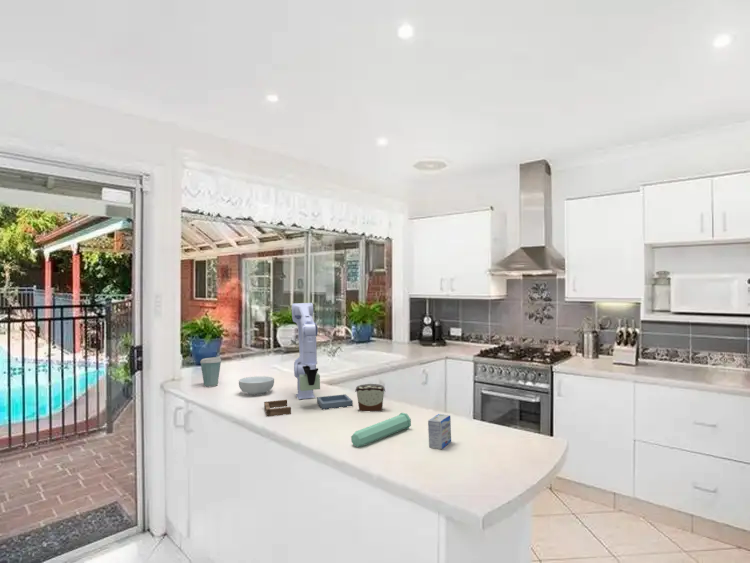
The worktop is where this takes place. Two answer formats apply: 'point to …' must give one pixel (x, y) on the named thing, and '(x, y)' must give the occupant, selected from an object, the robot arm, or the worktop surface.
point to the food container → (370, 397)
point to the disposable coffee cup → (210, 371)
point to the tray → (334, 401)
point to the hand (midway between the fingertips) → (310, 383)
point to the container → (381, 430)
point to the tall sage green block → (305, 385)
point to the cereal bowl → (256, 384)
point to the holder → (276, 410)
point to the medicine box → (439, 431)
